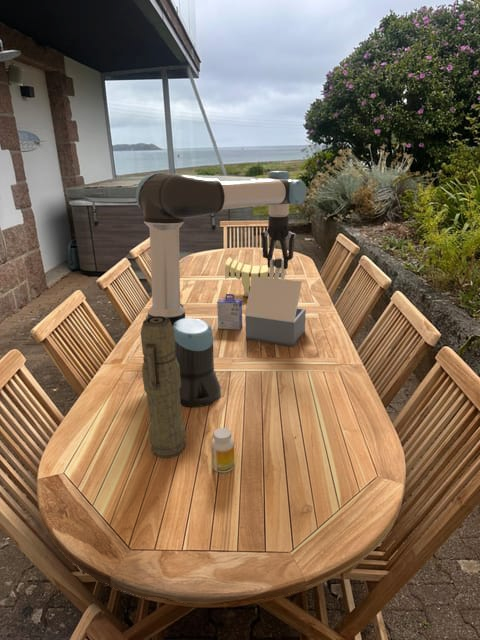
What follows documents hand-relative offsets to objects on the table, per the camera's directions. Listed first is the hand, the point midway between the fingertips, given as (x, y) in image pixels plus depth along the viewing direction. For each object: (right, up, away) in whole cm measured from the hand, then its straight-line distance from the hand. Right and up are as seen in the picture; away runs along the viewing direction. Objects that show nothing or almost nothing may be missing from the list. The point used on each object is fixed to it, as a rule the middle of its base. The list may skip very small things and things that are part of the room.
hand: (277, 276), depth 164 cm
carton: (0, -23, +8) cm, 25 cm away
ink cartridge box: (-19, -20, +17) cm, 33 cm away
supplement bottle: (-19, -52, -63) cm, 84 cm away
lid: (-1, -5, 0) cm, 5 cm away
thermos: (-33, -50, -56) cm, 82 cm away
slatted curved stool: (-6, -3, +60) cm, 60 cm away
